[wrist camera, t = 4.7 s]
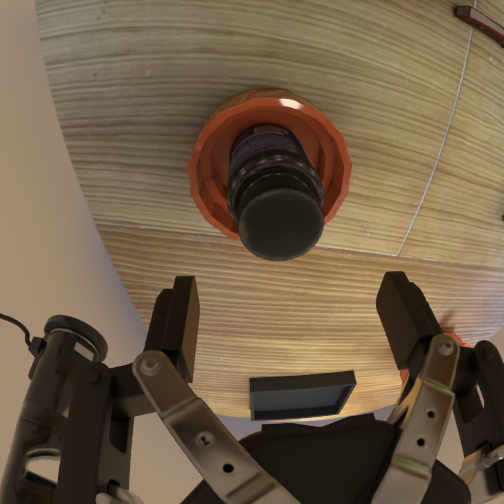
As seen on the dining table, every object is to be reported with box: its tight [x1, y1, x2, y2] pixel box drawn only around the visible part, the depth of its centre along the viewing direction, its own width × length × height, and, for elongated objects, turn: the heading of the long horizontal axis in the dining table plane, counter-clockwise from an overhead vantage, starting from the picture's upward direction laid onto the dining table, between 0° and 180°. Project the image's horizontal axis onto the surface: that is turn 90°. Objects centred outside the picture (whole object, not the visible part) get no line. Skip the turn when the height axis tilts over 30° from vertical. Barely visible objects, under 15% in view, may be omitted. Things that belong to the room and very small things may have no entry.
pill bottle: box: [226, 124, 324, 261], centre depth 21 cm, size 6×6×11 cm
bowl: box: [188, 89, 352, 241], centre depth 23 cm, size 12×12×5 cm
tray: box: [250, 371, 357, 421], centre depth 50 cm, size 17×13×3 cm
